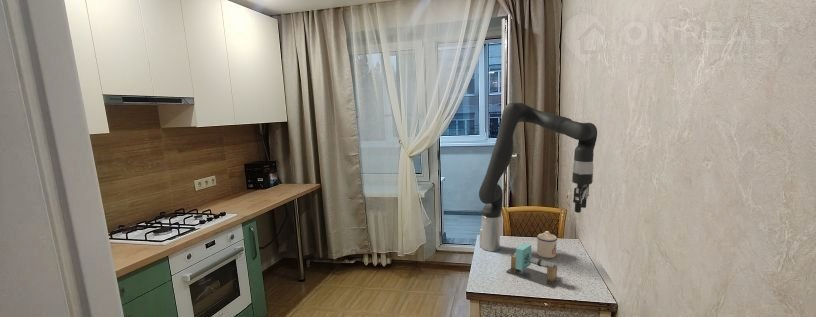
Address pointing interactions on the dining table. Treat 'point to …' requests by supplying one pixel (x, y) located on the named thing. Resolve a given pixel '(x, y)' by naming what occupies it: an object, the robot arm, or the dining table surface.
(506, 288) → the dining table surface
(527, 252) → the collar
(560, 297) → the dining table surface
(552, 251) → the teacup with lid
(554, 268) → the pipe rig
